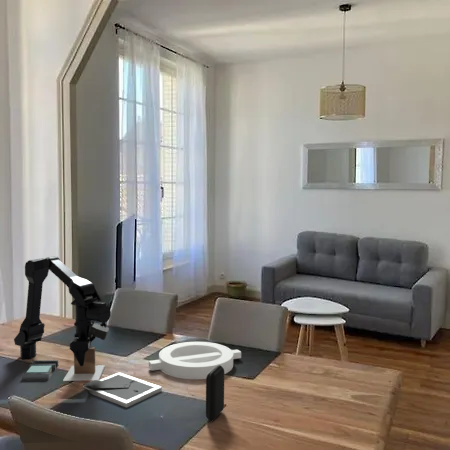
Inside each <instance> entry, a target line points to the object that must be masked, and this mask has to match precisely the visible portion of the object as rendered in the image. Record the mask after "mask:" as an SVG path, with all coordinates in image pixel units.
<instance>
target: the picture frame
mask: <svg viewBox="0 0 450 450" xmlns="http://www.w3.org/2000/svg"><path fill="white" fill-rule="evenodd" d="M82 385H83V386H82V388H84V389H86V390H88V393H89V394H91V395H93V396H95V397H99V398H100V399H103V400H105V401H108V402H111V403H113V404H116V405H119V406H121V407H123V408H129V407H131V406H134V405H135V404H138V403H139V402H142V401H145V400H146V399H148V398H150V397H152V396H155V395H157V394H159V393H161V392H162V391H163V387H162V386H161V385H158V384H154V383H151V382H148V381H146V380H143V379H140V378H137V377H134V376H131V375H128V374H125V373H123V372H120V371H119V372H116V373H113V374H111V375H108V376H107V377H103V378H100V380H90V381H88V382H86V383H83V384H82Z"/></svg>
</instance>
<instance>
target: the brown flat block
mask: <svg viewBox="0 0 450 450" xmlns="http://www.w3.org/2000/svg"><path fill="white" fill-rule="evenodd" d="M95 365H96V347H95V346H91V347H90V348H89V350H88V351H86V354H85V360H84V365H83V366H80V365H79V363H78V361H77V359H76V357H75V355H74V354H73V366H74V374H94V373H95Z"/></svg>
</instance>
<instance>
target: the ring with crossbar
mask: <svg viewBox="0 0 450 450" xmlns="http://www.w3.org/2000/svg"><path fill="white" fill-rule="evenodd" d="M241 358H242V351H241V350H239V348H238V349H231V348H229V347H228V346H225V345H223V344H220V343H215V342H209V341H186V342H185V341H184V342H179V343H174V344H171V345H167V346H166V347H163V348H162V349H161V350H160V351H159V353H158V359H152V360H148V369H149V370H150V371H151V372H153V371H159V370H160V371H161V372H162V373H164V374H165V375H166V376H167V375H168V376H171V377H173V378H178V379H185V380H206V378H207V375H208V374H209V373H210V372H211V371H212V370H213V369H214V368H215V367H217V366H218V365H221V366H222V368H223V369H224V375H226V374H228V373H229V372H230V371H232V370H233V367H234V360H237V359H241Z"/></svg>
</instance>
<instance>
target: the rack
mask: <svg viewBox="0 0 450 450" xmlns="http://www.w3.org/2000/svg"><path fill="white" fill-rule="evenodd" d="M31 366H52V371H51V373H50V374H49V373H23V372H22V373H21V380H20V381H21V382H36V381H37V382H39V381H44V382H45V381H49V380H50V378H51V377H52V376H53V374H54V373H55V371H56V370H57V369H58V366H59V360H55V359H53V360H52V359H49V360H48V359H47V360H45V359H44V360H40V359H39V360H38V359H37V360H32V363H30V364H29V368H30V367H31Z"/></svg>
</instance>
